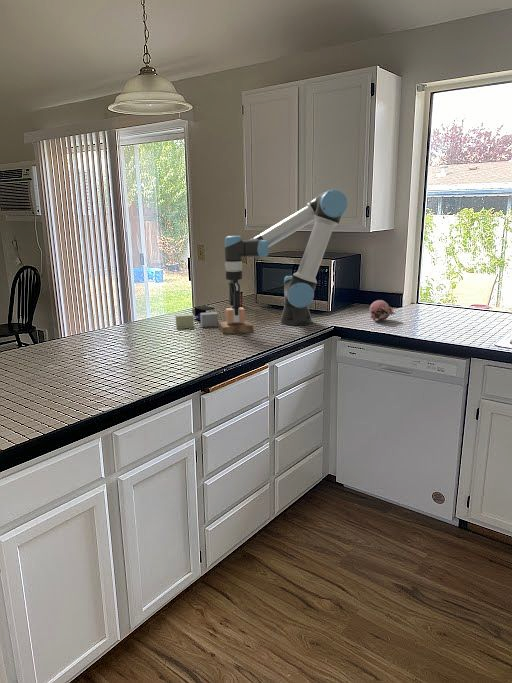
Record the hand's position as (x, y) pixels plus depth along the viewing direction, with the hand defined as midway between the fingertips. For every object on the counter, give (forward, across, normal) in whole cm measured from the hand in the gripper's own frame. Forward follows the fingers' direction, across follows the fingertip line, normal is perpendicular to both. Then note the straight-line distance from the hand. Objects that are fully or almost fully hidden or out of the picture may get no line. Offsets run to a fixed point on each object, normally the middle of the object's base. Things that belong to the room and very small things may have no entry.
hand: (235, 320), depth 243 cm
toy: (+4, +5, +72) cm, 72 cm away
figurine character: (+5, -27, -11) cm, 30 cm away
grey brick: (+5, -14, -10) cm, 18 cm away
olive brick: (+5, -14, -22) cm, 26 cm away
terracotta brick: (0, 0, 0) cm, 0 cm away
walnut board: (+4, 0, 0) cm, 4 cm away
